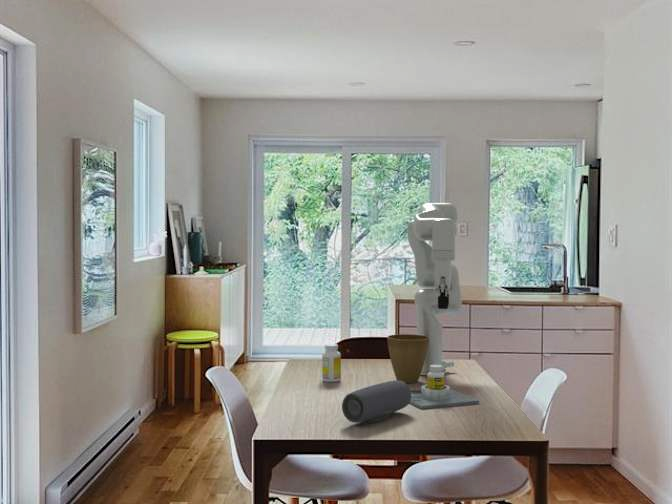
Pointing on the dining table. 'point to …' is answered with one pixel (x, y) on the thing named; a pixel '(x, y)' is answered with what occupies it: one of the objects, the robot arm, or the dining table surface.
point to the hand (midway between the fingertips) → (443, 307)
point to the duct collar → (439, 398)
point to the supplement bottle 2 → (435, 377)
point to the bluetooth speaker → (376, 402)
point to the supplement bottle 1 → (331, 363)
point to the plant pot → (407, 355)
